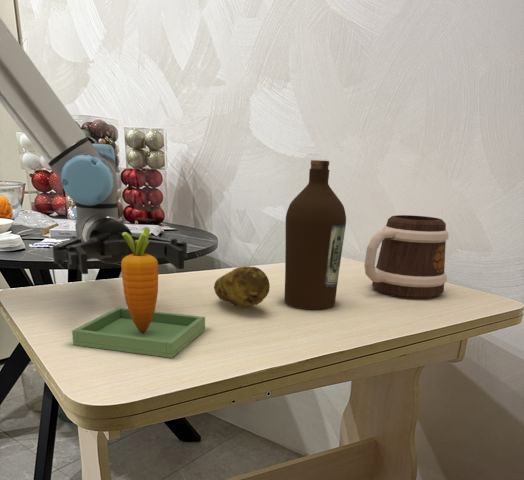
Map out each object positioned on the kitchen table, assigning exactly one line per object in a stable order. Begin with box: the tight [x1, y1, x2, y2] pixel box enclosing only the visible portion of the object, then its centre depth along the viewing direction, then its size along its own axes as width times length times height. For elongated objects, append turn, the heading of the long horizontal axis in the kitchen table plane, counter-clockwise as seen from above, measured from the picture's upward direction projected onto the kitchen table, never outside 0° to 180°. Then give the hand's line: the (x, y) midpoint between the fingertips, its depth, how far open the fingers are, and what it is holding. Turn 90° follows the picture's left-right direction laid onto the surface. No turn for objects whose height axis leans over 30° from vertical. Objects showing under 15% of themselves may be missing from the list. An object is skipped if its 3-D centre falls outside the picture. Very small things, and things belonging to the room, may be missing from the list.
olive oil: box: [284, 159, 347, 311], centre depth 92 cm, size 11×11×25 cm
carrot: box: [120, 226, 159, 333], centre depth 73 cm, size 5×5×15 cm
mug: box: [364, 214, 449, 300], centre depth 105 cm, size 20×15×15 cm
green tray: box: [71, 306, 206, 359], centre depth 75 cm, size 15×13×2 cm
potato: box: [213, 265, 271, 308], centre depth 90 cm, size 8×13×8 cm, turn 14°
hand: (134, 261), depth 73 cm, fingers open, 13 cm apart
